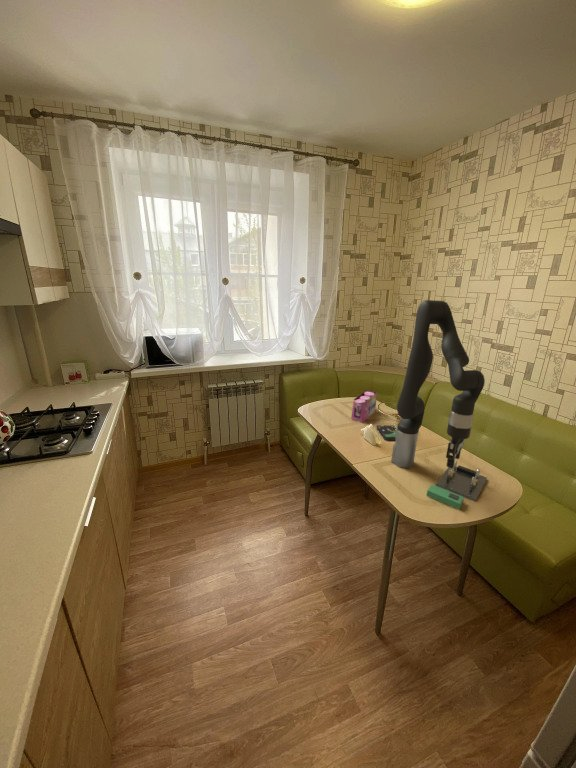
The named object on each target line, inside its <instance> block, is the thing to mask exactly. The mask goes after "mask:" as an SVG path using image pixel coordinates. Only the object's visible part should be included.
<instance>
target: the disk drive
mask: <svg viewBox="0 0 576 768" xmlns="http://www.w3.org/2000/svg"><path fill="white" fill-rule="evenodd" d="M395 429H397V427H395V425H386V424H385V425H379V424H378V425H376V430H377V431H379V432H378V433H379V434H380V436H381V437H382V439H383V440H384V441H389V442H390V441H396V434H397V431H396V430H395Z"/></svg>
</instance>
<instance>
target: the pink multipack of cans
mask: <svg viewBox="0 0 576 768" xmlns="http://www.w3.org/2000/svg"><path fill="white" fill-rule="evenodd" d="M377 395H378V392H377V391H371V390H366V389H365V391H363V392H362V393H361V394H359V395H357V396H356V397H354V399H353V402H352V409H351V419H352V420H351V421H355V420H356V421H357V422H358V421H359V422H360V423H364V422H365V421H366V420H367V419H369V418H370V417H371V416H372V415H373V414H374V413H375V412H376V407H377V399H378V398H377V397H378V396H377ZM356 421H355V422H356Z"/></svg>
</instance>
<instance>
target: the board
mask: <svg viewBox="0 0 576 768" xmlns="http://www.w3.org/2000/svg"><path fill="white" fill-rule="evenodd" d="M426 496H427V497H429V498H430V499H432V500H435V501H438V502H440V503H443V504H445V505H447V506H449V507H452V508H453V509H454V508H455V509H456V510H460V508H461V507H462V505H463V503H464V498H465V497H463V496H461V495H458V494H456V493H453V492H451V491H448V490H446V489H444V488H441V487H439V486H436V484H433V483H432V484H430V486H429V487H428V489H427V491H426Z"/></svg>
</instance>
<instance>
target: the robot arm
mask: <svg viewBox="0 0 576 768" xmlns="http://www.w3.org/2000/svg"><path fill="white" fill-rule="evenodd" d="M431 325H437V326H438V327H439V328H440V330H441V332H442V340H441V343H440V344H441V345H440V346H441V353H442V355H443V357H444V360H445V361H446V363H447V365H448V373H449V380H450V385H451V386H452V387H453V388H454V389H455V390H457V391H459V392H460V391H461V393H459V394H457V395H455V396H454V397H453V399H452V404H451V410H450V414H449V417H448V424H447V428H446V429H447V430H446V434H447V435H448V436H449V437H451V439H449V442H448V443H447V451H446V455H445V458H446V459H447V461H446V467H447V468H448V467H450V468H453V466H454V461H456V460H459V459H460V457H461V451H462V450H463V447H464V446H465V445H464V443H465V440H467V439H469V438H470V437H471V431H472V426H473V420H474V410H475V407H476V402H477V401H478V398H479V397H480V395H481V393H482V391H483V389H484V387H485V383H486V381H485V380H486V379H485V376H484V373H482V371H480V370H476V369H472V370H471V369H470V370H469V369H468V370H467V369H466V370H465V369H464V368H465V367H467V366H468V365H469V363H470V358H469V356H468V353H467V351H466V350H465V348H464V346H463V343H462V341H461V340H460V337H459V334H458V331H457V328H456V324H455V319H454V316H453V314H452V311H451V308H450V305H449V304H448V303H447V302H446V301H444V300H434V299H432V300H431V299H430V300H429V299H426V300H423V301H421V302H420V303H419V304H418V306H417V311H416V316H415V322H414V331H413V332H414V333H413V338H412V343H411V349H410V353H409V357H408V362H407V367H406V372H405V376H404V381H403V384H402V385H403V386H402V387H401V388H402V389H401V393H400V394H399V397H398V400H397V404H396V411H397V414H398V415H399V417H400V418H401V419H400V421H399V422H398V423H397V427H396V429H397V434H396V440H395V442H394V443H393V446H392V453H391V460H390V461H391V462H392V463H394V465H395V466H397V467H399V468H404V469H409V468H413V466H414V462H415V457H416V451H417V443H418V438H419V433H420V428H421V426H422V424H423V419H424V415H425V410H426V409H425V402H424V401H423V399H422V397H420V396H418V395H419V392H420V390H421V388H422V386H423V385H424V383H425V381H426V380H427V378H428V377H429V374H430V372H431V369H432V364H433V360H434V353H433V349H432V346H431V344H430V341H429V330H430V327H431Z"/></svg>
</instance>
